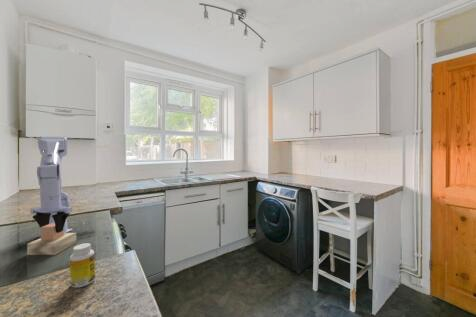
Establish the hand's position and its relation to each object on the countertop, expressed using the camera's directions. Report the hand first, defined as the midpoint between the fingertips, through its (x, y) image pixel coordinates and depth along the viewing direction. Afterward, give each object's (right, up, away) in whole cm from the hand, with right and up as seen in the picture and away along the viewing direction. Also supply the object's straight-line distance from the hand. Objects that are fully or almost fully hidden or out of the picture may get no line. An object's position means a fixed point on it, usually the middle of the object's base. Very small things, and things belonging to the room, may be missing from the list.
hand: (52, 231), depth 81 cm
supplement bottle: (+27, -7, -22) cm, 36 cm away
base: (0, -6, 0) cm, 6 cm away
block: (0, -2, 0) cm, 2 cm away
